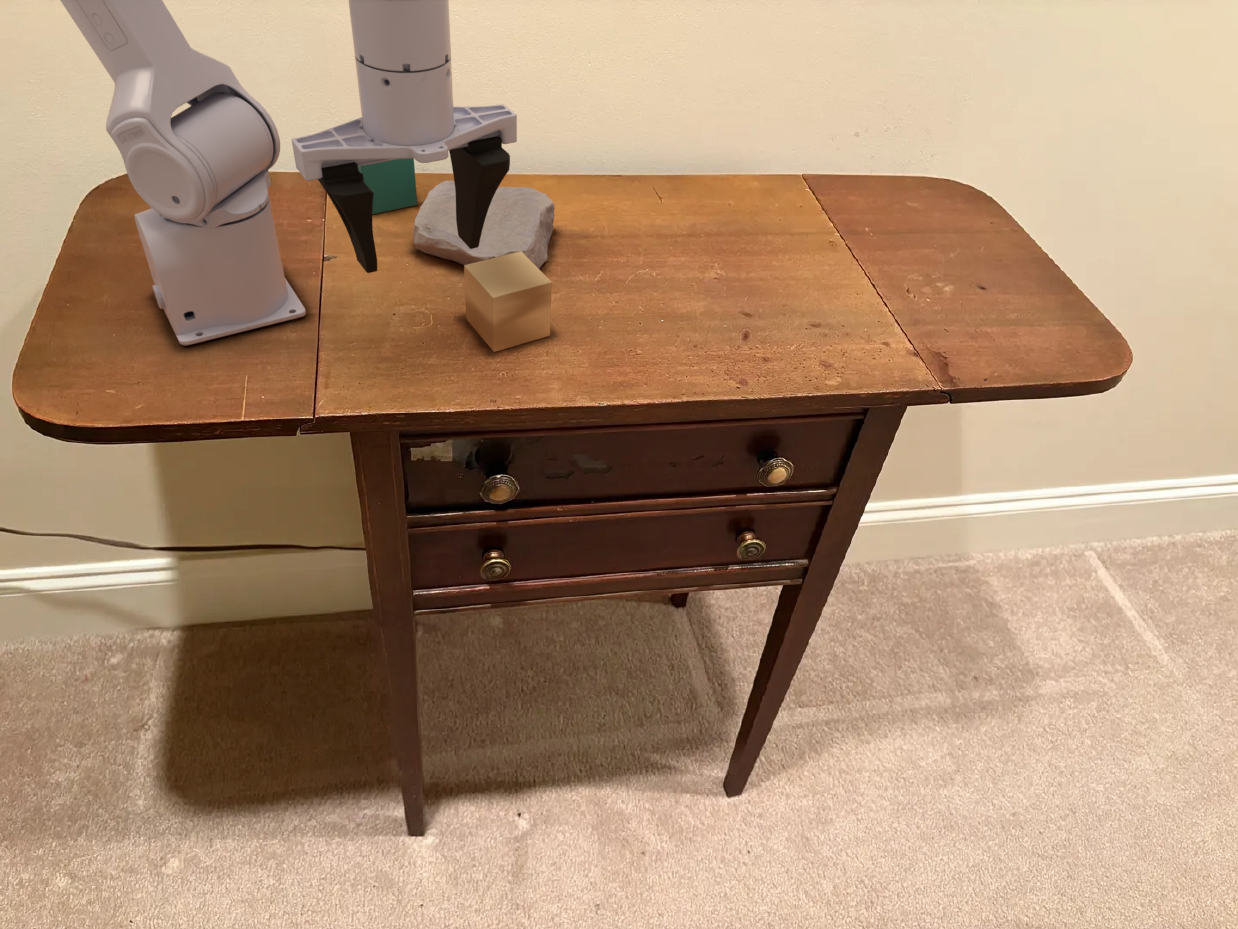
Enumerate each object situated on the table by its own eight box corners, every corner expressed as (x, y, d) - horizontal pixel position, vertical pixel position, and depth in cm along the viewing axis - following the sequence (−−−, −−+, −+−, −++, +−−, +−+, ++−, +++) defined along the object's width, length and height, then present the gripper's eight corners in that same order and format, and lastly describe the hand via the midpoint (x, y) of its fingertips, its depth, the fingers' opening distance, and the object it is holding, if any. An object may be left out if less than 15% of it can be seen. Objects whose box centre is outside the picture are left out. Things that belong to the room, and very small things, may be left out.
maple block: (493, 352, 71) (492, 297, 68) (465, 319, 74) (463, 264, 71) (550, 335, 73) (552, 281, 70) (521, 304, 76) (521, 250, 73)
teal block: (367, 215, 85) (360, 164, 81) (347, 192, 88) (341, 141, 84) (417, 205, 87) (413, 154, 84) (397, 182, 90) (392, 132, 87)
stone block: (541, 296, 80) (558, 221, 86) (538, 254, 76) (556, 179, 82) (408, 284, 81) (434, 210, 87) (398, 241, 77) (426, 167, 83)
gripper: (306, 96, 50) (339, 306, 60) (540, 62, 57) (536, 257, 66) (267, 52, 54) (303, 255, 64) (488, 25, 61) (492, 213, 70)
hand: (419, 253), depth 65 cm, fingers open, 7 cm apart
